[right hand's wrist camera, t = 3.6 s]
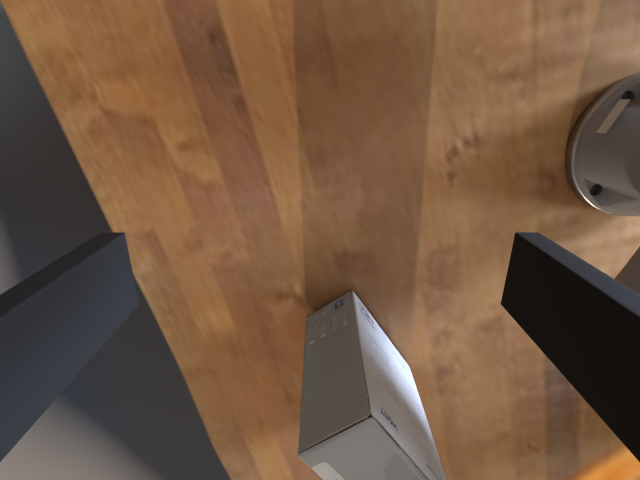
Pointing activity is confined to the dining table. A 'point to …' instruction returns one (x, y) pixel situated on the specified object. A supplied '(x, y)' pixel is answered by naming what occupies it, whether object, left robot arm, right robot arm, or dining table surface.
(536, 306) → the right robot arm
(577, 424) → the dining table surface
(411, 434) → the hard drive box
